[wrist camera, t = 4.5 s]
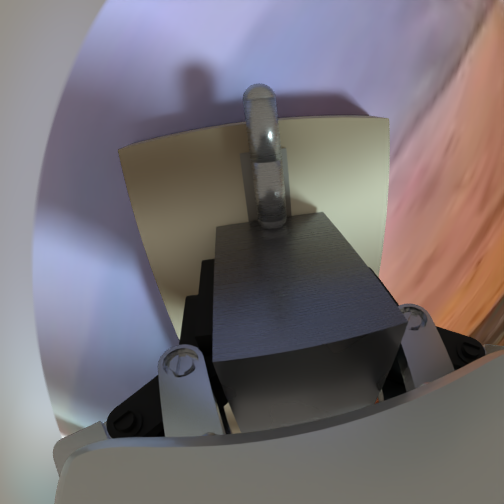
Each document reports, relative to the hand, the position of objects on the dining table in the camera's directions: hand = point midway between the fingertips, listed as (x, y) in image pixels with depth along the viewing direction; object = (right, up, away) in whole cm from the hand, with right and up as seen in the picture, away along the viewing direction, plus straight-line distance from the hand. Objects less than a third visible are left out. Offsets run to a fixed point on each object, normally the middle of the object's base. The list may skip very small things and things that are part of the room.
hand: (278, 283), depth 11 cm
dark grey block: (0, +2, -1) cm, 2 cm away
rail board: (+1, -5, +5) cm, 7 cm away
